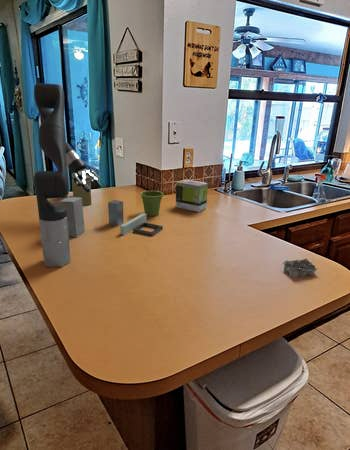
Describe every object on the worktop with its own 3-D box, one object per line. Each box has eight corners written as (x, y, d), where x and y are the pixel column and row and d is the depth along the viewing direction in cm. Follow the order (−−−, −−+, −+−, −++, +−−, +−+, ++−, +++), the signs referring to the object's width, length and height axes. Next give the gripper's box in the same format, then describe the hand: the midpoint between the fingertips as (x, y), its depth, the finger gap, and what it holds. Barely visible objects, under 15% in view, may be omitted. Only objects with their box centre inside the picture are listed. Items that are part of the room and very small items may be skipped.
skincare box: (76, 237, 144) (74, 202, 138) (61, 236, 145) (58, 200, 140) (85, 230, 152) (83, 197, 146) (71, 229, 153) (68, 195, 147)
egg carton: (291, 279, 118) (292, 268, 117) (280, 268, 125) (281, 258, 123) (317, 276, 120) (319, 266, 119) (305, 266, 127) (307, 256, 126)
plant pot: (159, 209, 184) (159, 189, 180) (165, 216, 173) (166, 195, 169) (138, 211, 180) (138, 190, 176) (143, 218, 170) (143, 197, 166)
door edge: (124, 235, 149) (124, 226, 147) (120, 234, 149) (120, 225, 148) (146, 221, 166) (146, 213, 164) (142, 220, 167) (142, 213, 165)
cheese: (67, 196, 202) (65, 171, 197) (83, 194, 206) (81, 170, 201) (74, 206, 183) (72, 179, 178) (92, 205, 188) (90, 178, 182)
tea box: (206, 208, 190) (208, 182, 185) (198, 212, 182) (199, 186, 177) (184, 203, 197) (185, 178, 192) (174, 207, 189) (175, 181, 184)
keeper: (152, 236, 149) (152, 233, 148) (133, 232, 152) (133, 228, 152) (162, 229, 157) (162, 226, 157) (144, 225, 161) (144, 222, 160)
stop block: (117, 226, 158) (117, 204, 154) (108, 224, 160) (108, 202, 156) (123, 223, 163) (123, 201, 159) (114, 221, 165) (114, 199, 161)
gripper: (67, 159, 153) (89, 188, 152) (87, 155, 165) (108, 181, 165) (59, 170, 157) (80, 197, 156) (79, 165, 169) (99, 190, 168)
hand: (94, 189), depth 160 cm, fingers open, 8 cm apart
